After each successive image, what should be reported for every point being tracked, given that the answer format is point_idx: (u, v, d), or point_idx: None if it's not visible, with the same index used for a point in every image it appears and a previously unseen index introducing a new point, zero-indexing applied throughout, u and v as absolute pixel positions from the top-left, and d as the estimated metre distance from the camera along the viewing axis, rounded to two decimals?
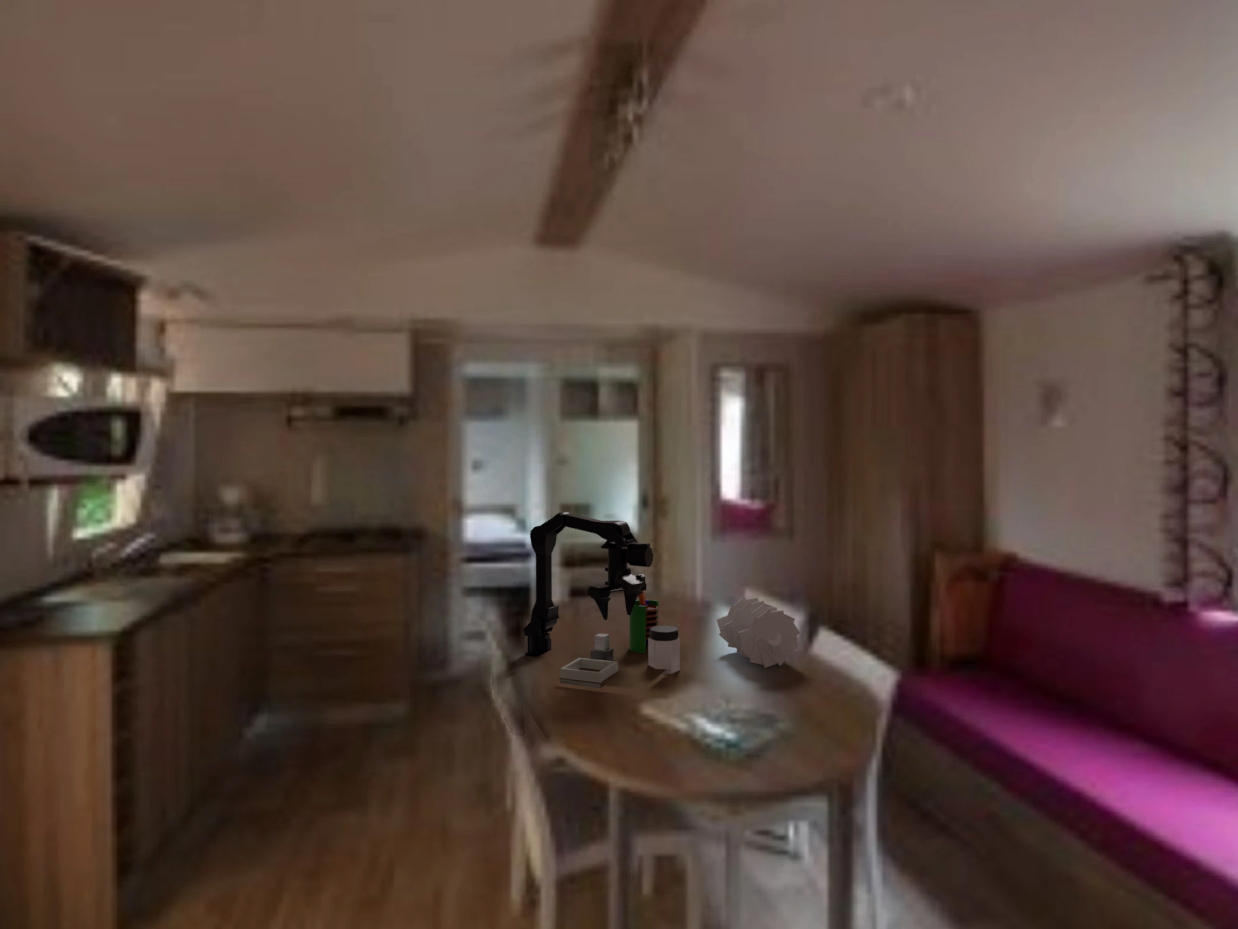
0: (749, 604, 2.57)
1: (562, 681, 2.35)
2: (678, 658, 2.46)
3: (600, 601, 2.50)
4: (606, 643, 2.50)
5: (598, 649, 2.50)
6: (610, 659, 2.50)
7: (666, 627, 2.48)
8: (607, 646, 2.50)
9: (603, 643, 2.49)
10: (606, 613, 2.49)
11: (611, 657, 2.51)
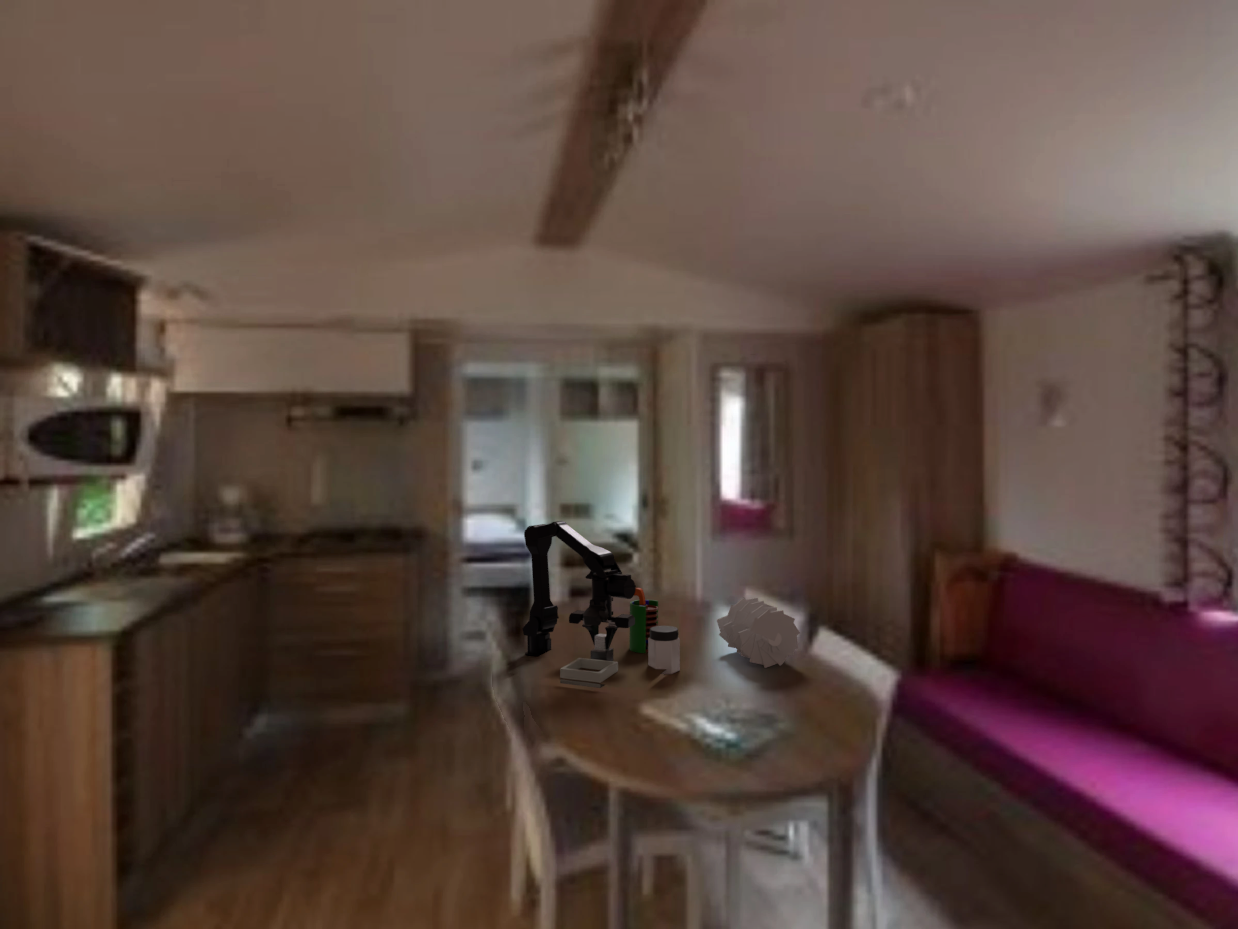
0: (749, 604, 2.57)
1: (562, 681, 2.35)
2: (678, 658, 2.46)
3: None
4: None
5: (598, 649, 2.50)
6: (610, 659, 2.50)
7: (666, 627, 2.48)
8: None
9: (603, 643, 2.49)
10: (593, 641, 2.51)
11: (611, 657, 2.51)
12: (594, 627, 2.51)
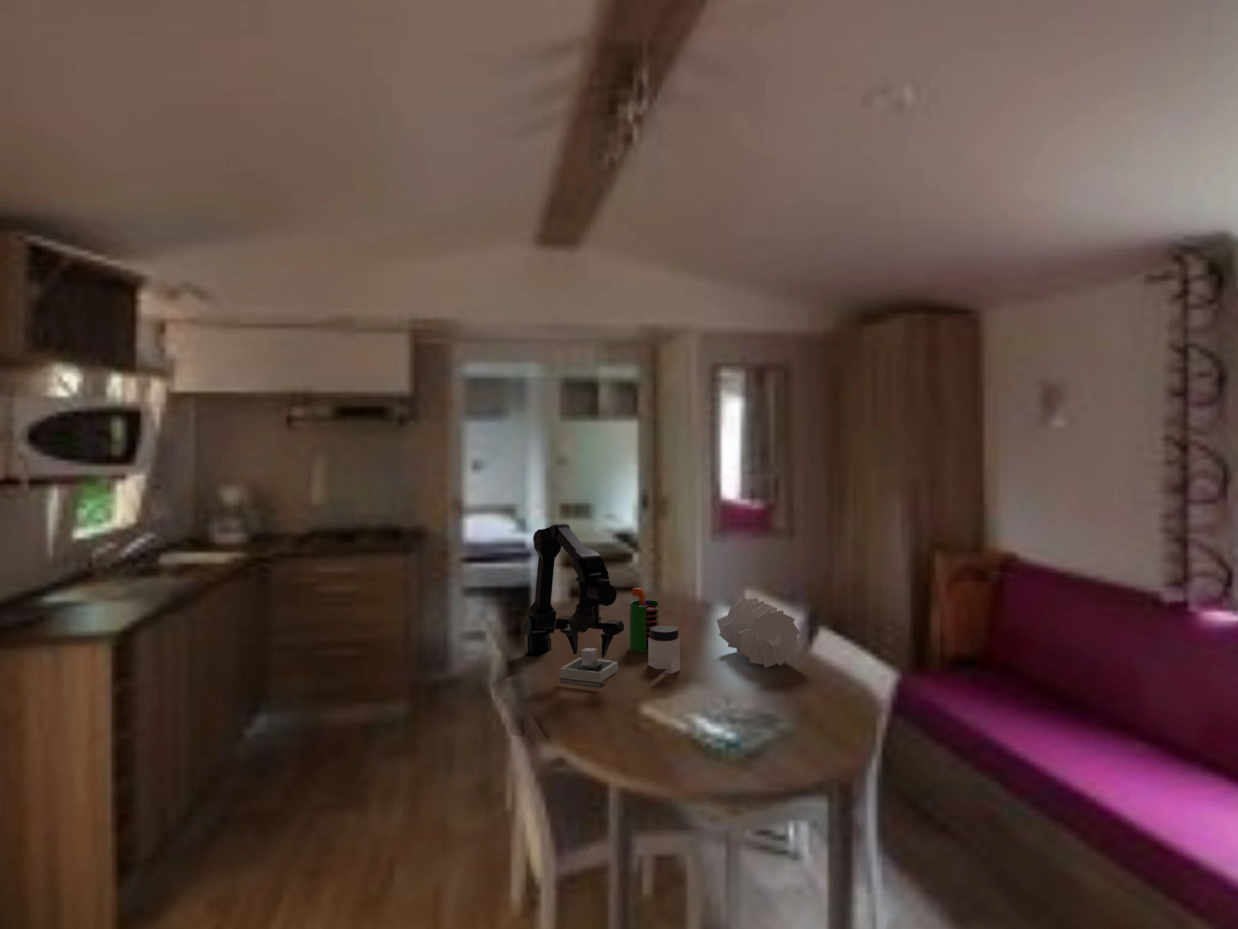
0: (749, 604, 2.57)
1: (562, 681, 2.35)
2: (678, 658, 2.46)
3: None
4: (594, 658, 2.37)
5: (585, 664, 2.37)
6: None
7: (666, 627, 2.48)
8: (594, 661, 2.38)
9: (591, 658, 2.36)
10: (572, 647, 2.39)
11: None
12: (573, 632, 2.39)
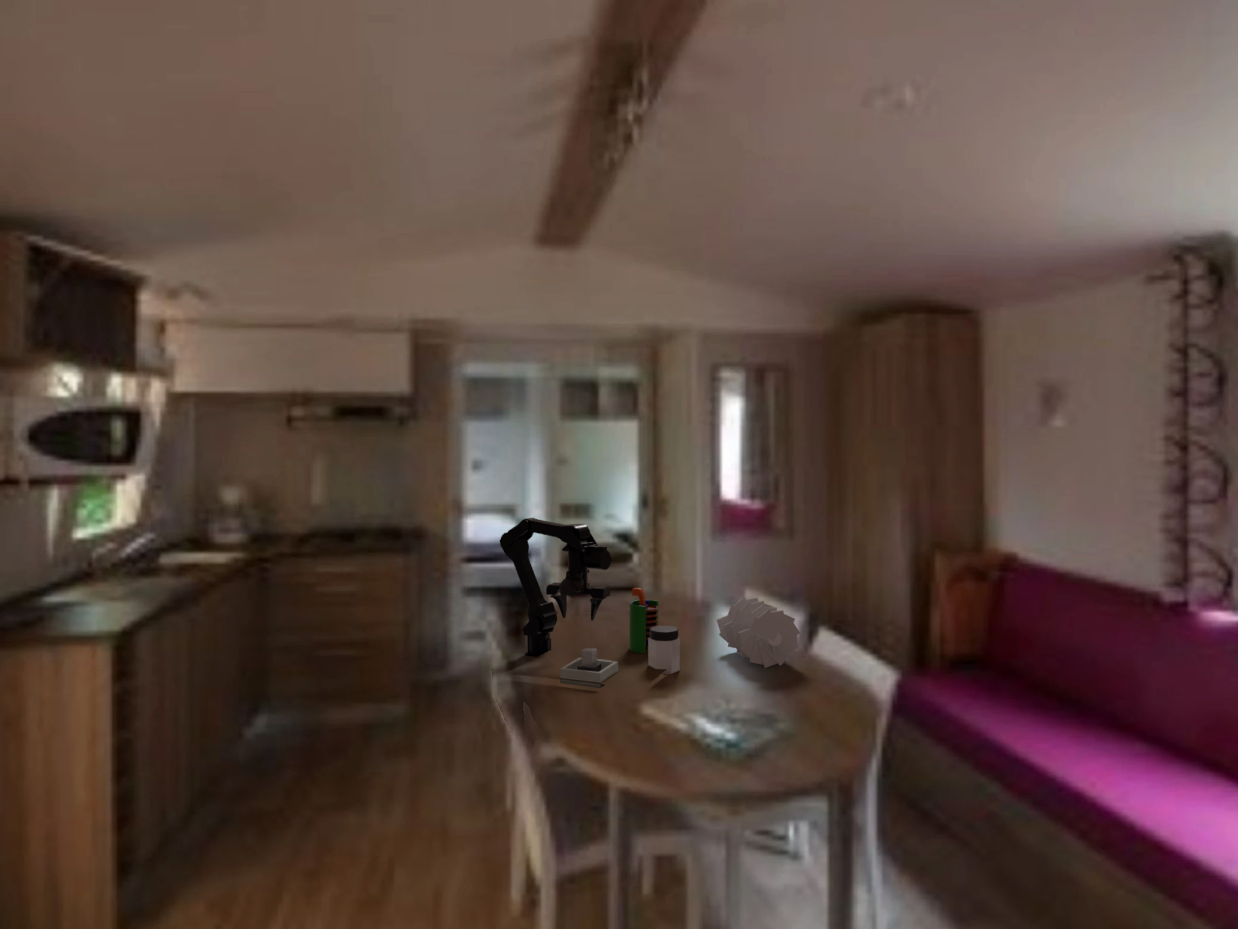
0: (749, 604, 2.57)
1: (562, 681, 2.35)
2: (678, 658, 2.46)
3: None
4: (594, 658, 2.37)
5: (585, 664, 2.37)
6: None
7: (666, 627, 2.48)
8: (594, 661, 2.38)
9: (591, 658, 2.36)
10: (561, 611, 2.58)
11: None
12: (562, 598, 2.58)
